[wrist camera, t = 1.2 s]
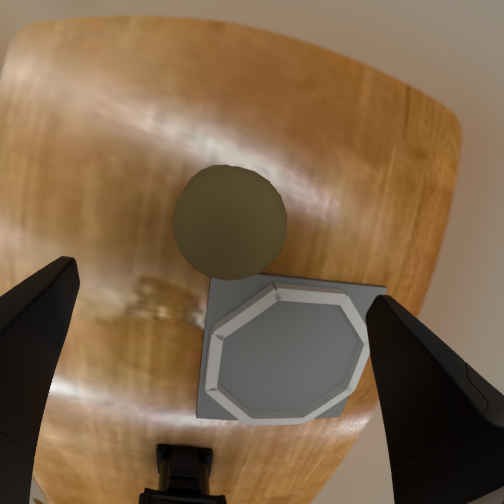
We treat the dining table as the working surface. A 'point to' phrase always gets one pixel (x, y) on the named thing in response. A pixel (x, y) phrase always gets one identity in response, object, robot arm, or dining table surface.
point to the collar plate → (282, 348)
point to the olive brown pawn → (229, 222)
